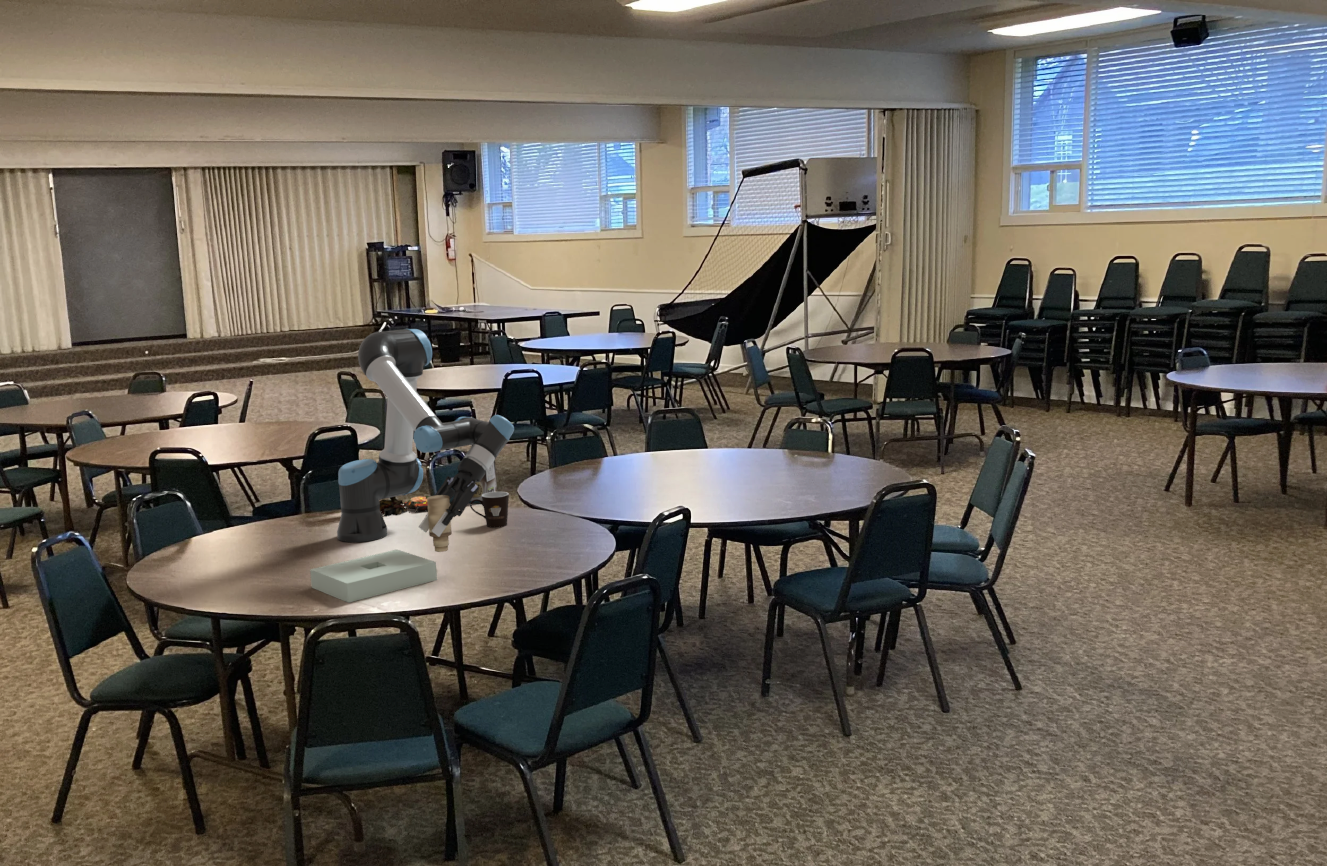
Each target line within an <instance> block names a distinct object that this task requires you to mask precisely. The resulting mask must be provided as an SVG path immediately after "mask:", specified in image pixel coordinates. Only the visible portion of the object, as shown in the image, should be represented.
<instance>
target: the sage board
mask: <svg viewBox="0 0 1327 866" xmlns="http://www.w3.org/2000/svg"><path fill="white" fill-rule="evenodd" d="M309 572H310V585H311V589H314V590H316V591H319V592H321V593H324V594H326V595H329V596H332V597H333V598H336V599H339V600H341V601H343V602H346V603H353V602H356V601H360V600H365V599H369V598H371V597H376V596H379V595H380V596H381V595H383V594H384V595H385V594H388V593H391V592H396V591H399V590H403V589H407V588H412V587H414V586H419V585H423V584H426V583H427V584H428V583H431V582H434V581H437V580H438V575H437V573H438V572H437V561H434V560H431V559H428V558H425V557H421V556H419V555H416V554H412V553H410V552H407V551H404V550H401V549H394V550H393V549H392V550H390V551H389V550H387V551H384V552H380V553H376V554H370V555H366V556H363V557H358V558H353V559H349V560H345V561H341V562H337V563H331V564H327V565H323V566H319V567H314V568H311V569H309Z"/></svg>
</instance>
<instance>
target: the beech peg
mask: <svg viewBox="0 0 1327 866" xmlns="http://www.w3.org/2000/svg"><path fill="white" fill-rule="evenodd" d="M434 495H435V494H434ZM434 495H431V496H429V497H428V498H427V503H428V511H427V513H428V519H429V529H428V536H429V537H431V538H432V543H433V545H432V546H433V547H434V552H437V553H443V552H448V551H449V544H450V543H449V541H450V540H449V539H450V538H449V536H452V535H453V533H452V532H453V530H452V523H451V522H452V520H451V521H450V523H449V524H448V525H447V526H446V528H445V529H444V531H443V532H442V534H441V535H440V537H438V536H437V535H436V534H434V533H433V532H432V529H433V528H434V526H435V525H436V524H437V522H438V521H439V519H440V518H441V516H442V515H443V513H444V512H447V511H446V509H449V507H450V505H451V502H450V501H451V499H449V496H447V495H435V496H434ZM447 513H448V512H447Z"/></svg>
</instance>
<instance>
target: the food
mask: <svg viewBox="0 0 1327 866" xmlns="http://www.w3.org/2000/svg"><path fill="white" fill-rule="evenodd" d="M428 497H430V496H429V495H428V496H427V495H425V496H414V497H411V498H410V499H409V500H407V501H405V502H403V499H399V500H398V499H380V500H379V505H380V512H381V514H382V515H383V517H390V516H392V515H394V516H400V515H402V514H405V513H407V512H408V513H409V511H408V509H415V514H416V513H423V512H428V503H427V498H428ZM406 506H407V507H406Z"/></svg>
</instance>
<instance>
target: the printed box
mask: <svg viewBox="0 0 1327 866" xmlns="http://www.w3.org/2000/svg"><path fill="white" fill-rule="evenodd" d="M463 458H466V456H465V455H464V456H463ZM496 471H497V469H496V459H495V460H494V461H493V463H492V465H491V466H490V467H489V469H488V470H486V473H485V475H484V476H483V478H482V479H481V481H480V482H475V484H476V485H477V486H478V487H479V490H478V491H477V492H476V493H475V494H474V495H473V497H472V498H471V500H470V501H471V502H472V501H473V500H475V499H478V500H481V501H482V496H481V495H482V494H485V493H489V492H498V487H497V472H496Z"/></svg>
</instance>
